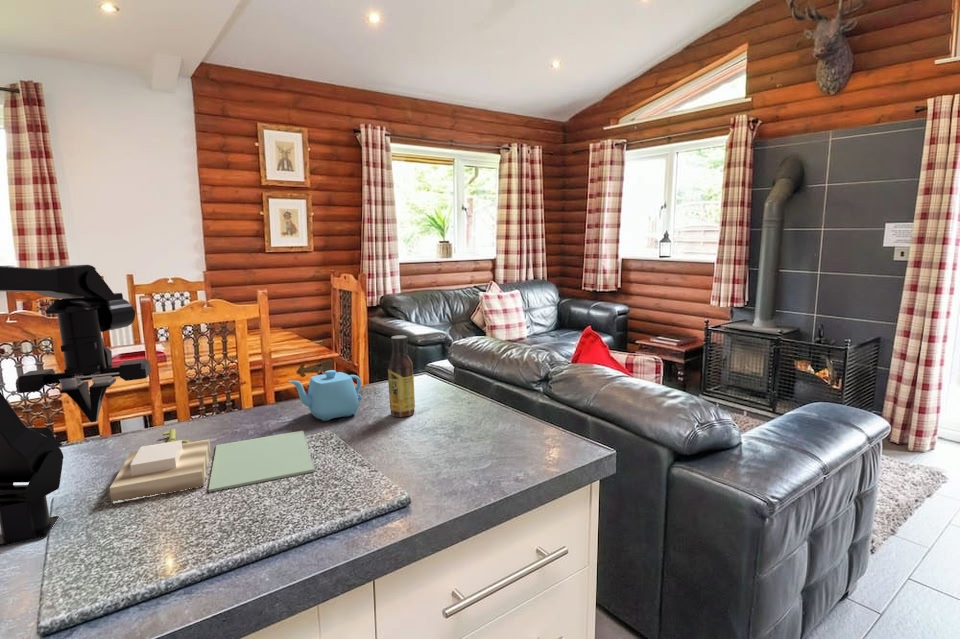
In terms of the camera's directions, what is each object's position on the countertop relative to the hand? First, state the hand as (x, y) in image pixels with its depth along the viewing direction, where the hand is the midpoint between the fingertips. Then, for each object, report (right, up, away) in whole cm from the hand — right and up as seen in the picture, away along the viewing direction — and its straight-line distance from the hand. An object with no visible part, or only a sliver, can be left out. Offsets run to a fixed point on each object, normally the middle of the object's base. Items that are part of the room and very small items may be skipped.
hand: (94, 421), depth 96 cm
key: (+1, -10, +23) cm, 25 cm away
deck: (+10, -12, +6) cm, 16 cm away
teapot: (+31, -6, +39) cm, 50 cm away
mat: (+25, -10, +12) cm, 30 cm away
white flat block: (+9, -9, +5) cm, 13 cm away
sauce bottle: (+51, -6, +37) cm, 63 cm away
